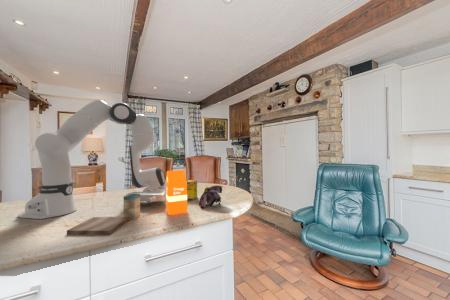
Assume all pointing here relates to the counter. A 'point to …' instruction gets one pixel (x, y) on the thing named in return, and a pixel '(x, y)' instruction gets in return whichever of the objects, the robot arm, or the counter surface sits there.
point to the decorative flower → (210, 196)
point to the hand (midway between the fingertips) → (139, 200)
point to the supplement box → (191, 189)
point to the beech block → (132, 206)
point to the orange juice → (176, 192)
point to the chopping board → (98, 226)
